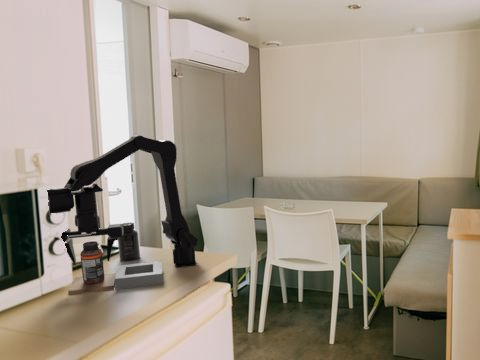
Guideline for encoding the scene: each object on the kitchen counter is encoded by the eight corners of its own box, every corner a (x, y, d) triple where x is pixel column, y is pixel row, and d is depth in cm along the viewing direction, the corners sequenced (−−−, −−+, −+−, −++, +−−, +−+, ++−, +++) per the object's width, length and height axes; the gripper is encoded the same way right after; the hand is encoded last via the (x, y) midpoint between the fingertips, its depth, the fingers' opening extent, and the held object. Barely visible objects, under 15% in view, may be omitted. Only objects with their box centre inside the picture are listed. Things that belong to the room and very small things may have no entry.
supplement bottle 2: (143, 255, 164) (140, 221, 163) (133, 261, 158) (130, 226, 157) (126, 255, 167) (123, 221, 165) (115, 260, 160) (112, 226, 159)
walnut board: (116, 276, 143) (116, 272, 143) (113, 289, 132) (113, 285, 131) (75, 280, 141) (75, 277, 141) (68, 294, 129) (68, 290, 129)
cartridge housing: (162, 270, 146) (161, 261, 146) (163, 283, 133) (162, 273, 133) (118, 275, 144) (117, 265, 143) (115, 289, 131) (114, 278, 131)
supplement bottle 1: (88, 277, 140) (85, 240, 138) (108, 277, 139) (104, 239, 137) (79, 284, 134) (75, 245, 132) (99, 284, 133) (95, 245, 131)
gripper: (122, 201, 143) (126, 252, 145) (57, 207, 140) (62, 258, 142) (119, 207, 132) (124, 262, 134) (49, 214, 129) (55, 269, 131)
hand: (91, 262), depth 136 cm, fingers open, 9 cm apart
